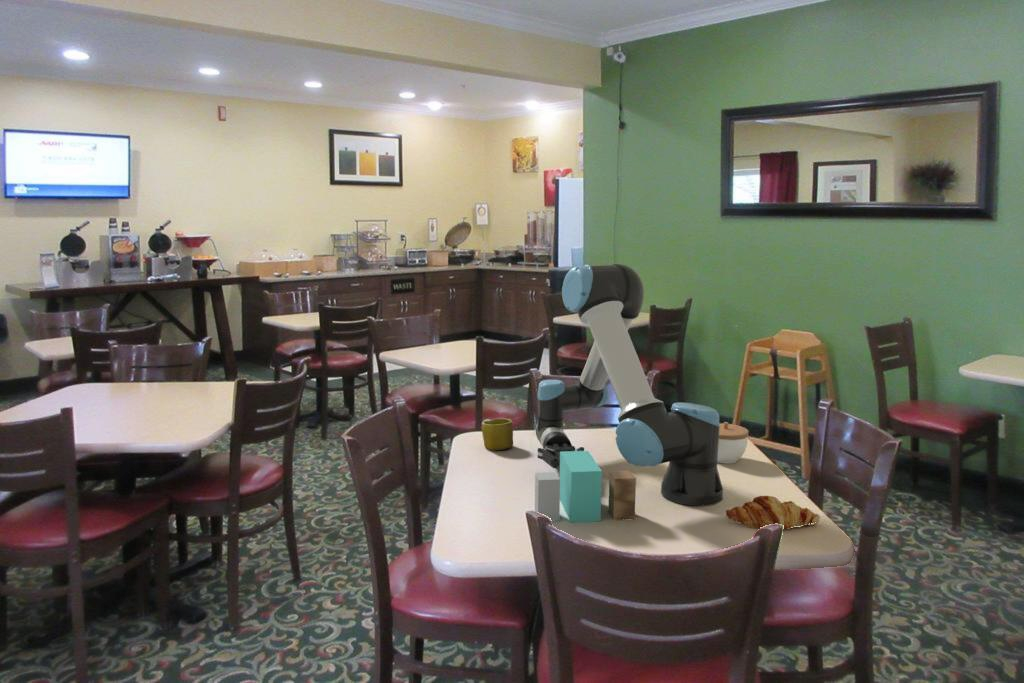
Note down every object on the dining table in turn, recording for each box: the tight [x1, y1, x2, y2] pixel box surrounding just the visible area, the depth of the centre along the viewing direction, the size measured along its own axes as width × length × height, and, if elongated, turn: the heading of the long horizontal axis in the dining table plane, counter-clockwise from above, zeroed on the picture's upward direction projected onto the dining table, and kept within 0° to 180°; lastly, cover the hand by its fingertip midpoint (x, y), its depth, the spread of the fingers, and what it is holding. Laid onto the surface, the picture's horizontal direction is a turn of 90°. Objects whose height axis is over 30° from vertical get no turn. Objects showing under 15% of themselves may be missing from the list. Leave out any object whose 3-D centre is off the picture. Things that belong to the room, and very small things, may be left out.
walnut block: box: [607, 470, 637, 521], centre depth 180 cm, size 5×5×10 cm
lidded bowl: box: [717, 421, 750, 465], centre depth 220 cm, size 13×13×11 cm
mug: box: [481, 418, 514, 452], centre depth 232 cm, size 12×10×10 cm
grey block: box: [534, 471, 561, 522], centre depth 178 cm, size 5×5×10 cm
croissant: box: [725, 495, 821, 531], centre depth 176 cm, size 21×10×8 cm, turn 90°
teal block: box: [559, 450, 603, 523], centre depth 183 cm, size 7×15×12 cm, turn 6°
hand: (572, 472), depth 191 cm, fingers closed
